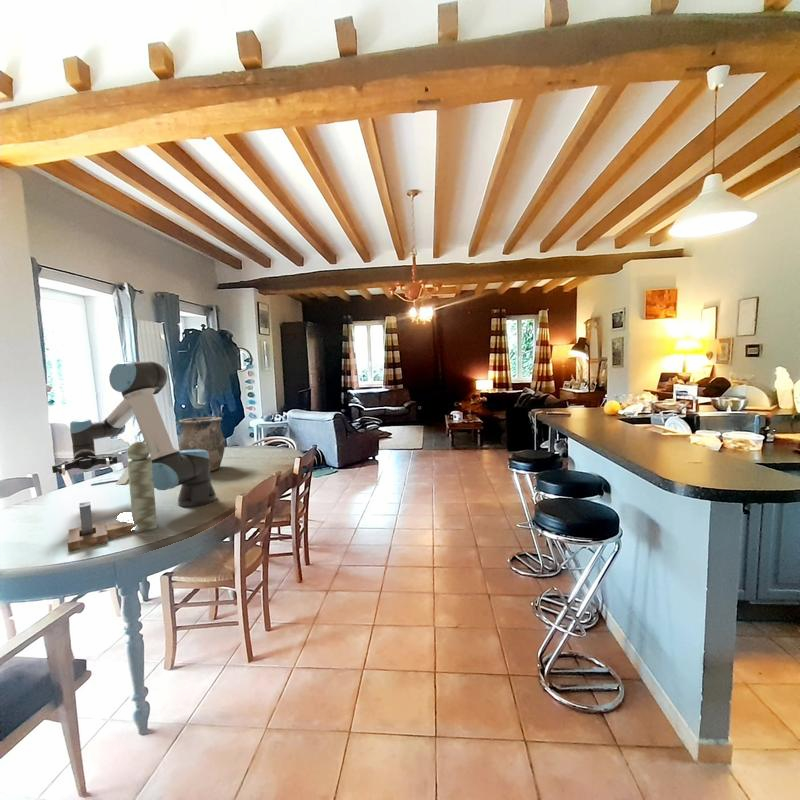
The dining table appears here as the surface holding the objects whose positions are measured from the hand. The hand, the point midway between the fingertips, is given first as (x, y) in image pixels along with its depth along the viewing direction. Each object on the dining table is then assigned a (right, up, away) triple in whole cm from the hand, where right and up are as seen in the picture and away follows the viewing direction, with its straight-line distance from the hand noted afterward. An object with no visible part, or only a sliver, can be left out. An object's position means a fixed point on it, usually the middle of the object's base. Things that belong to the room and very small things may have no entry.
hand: (86, 467), depth 155 cm
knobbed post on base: (+15, -23, -6) cm, 28 cm away
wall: (-20, -17, +61) cm, 67 cm away
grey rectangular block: (+9, -24, -11) cm, 27 cm away
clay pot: (+6, -15, +80) cm, 82 cm away
